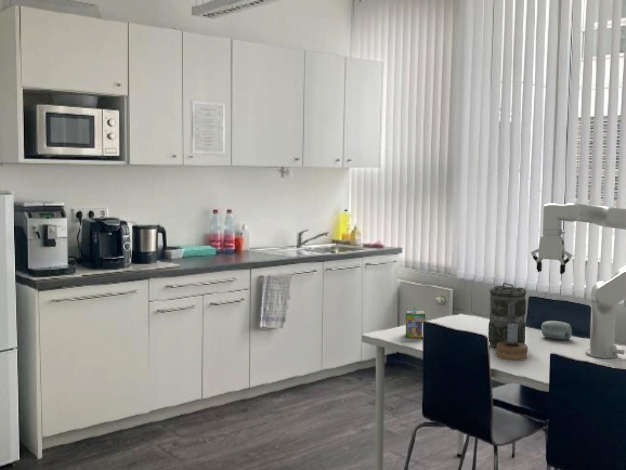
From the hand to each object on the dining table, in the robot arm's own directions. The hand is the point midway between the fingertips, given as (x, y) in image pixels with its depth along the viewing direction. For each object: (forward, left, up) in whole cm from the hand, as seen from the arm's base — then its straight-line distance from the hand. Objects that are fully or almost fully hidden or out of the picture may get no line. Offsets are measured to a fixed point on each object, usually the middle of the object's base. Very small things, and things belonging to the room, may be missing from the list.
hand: (550, 272), depth 301 cm
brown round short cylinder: (+9, +18, -34) cm, 40 cm away
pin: (+9, +18, -34) cm, 40 cm away
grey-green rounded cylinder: (+5, -25, -35) cm, 43 cm away
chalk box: (+59, +11, -35) cm, 69 cm away
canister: (+18, +2, -34) cm, 39 cm away
